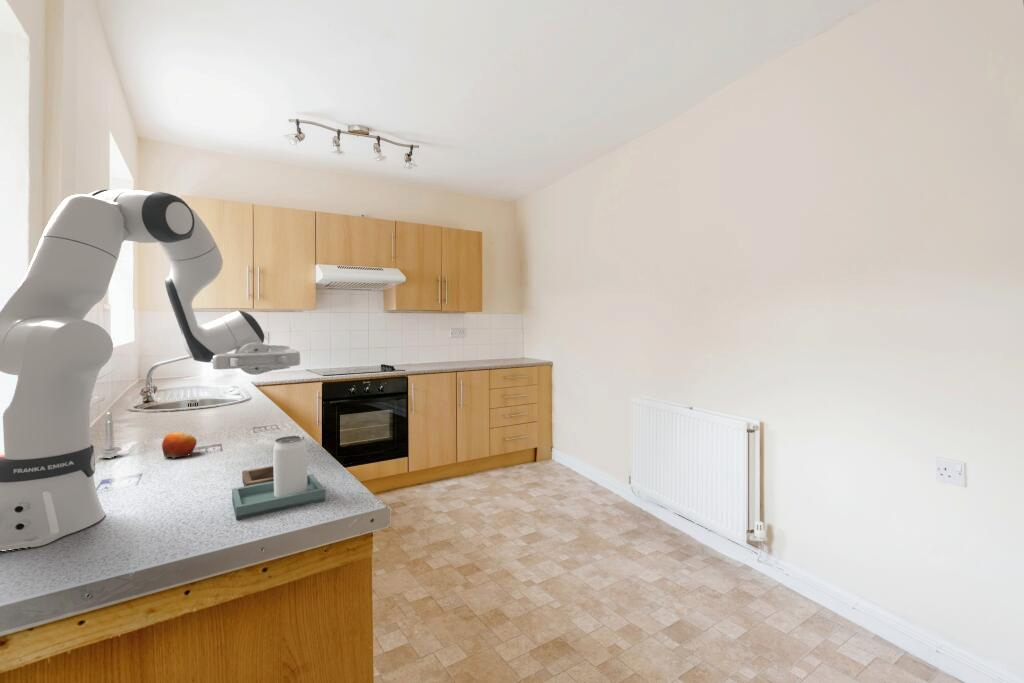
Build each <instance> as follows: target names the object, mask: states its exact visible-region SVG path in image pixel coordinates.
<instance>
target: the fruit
mask: <svg viewBox="0 0 1024 683" xmlns="http://www.w3.org/2000/svg"><path fill="white" fill-rule="evenodd" d="M196 446H197V439H196V437H195V436H193V435H192V434H187V433H184V432H179V431H175V432H171V433H168V434H167V435H165V436H164V438H163V440H162V443H161V449H162V453H163V457H165V458H169V457H171V458H172V460H173V459H174V460H175V459H176V458H178V457H179V458H180V457H186V455H188V454H190V455H191V454H192V453H193V452H194V450H195V448H196ZM188 456H189V455H188Z"/></svg>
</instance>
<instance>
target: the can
mask: <svg viewBox="0 0 1024 683" xmlns="http://www.w3.org/2000/svg"><path fill="white" fill-rule="evenodd" d="M272 448H273V449H272V455H273V456H272V461H273V462H272V464H273V465H272V466H273V473H274V496H275V497H276V498H277V497H281V496H286V495H291V494H296V493H301V492H306V491H307V475H308V452H307V451H308V446H307V442H306V441H305V436H302V435H290V436H282V437H279V438H276V439H275V443H274V446H273V447H272Z"/></svg>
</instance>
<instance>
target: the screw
mask: <svg viewBox="0 0 1024 683" xmlns="http://www.w3.org/2000/svg"><path fill="white" fill-rule="evenodd" d="M112 414H113V413H112V412H110V411H108V412H106V413H105V415H104V416H105V422H104V425H105V426H104V430H105V446H106V447H105V448H103V449H100V450H99V451H98V454H101V455H103V458H104V457H106V458H108V457H114V456H116V455H117V456H118V452H121V451H122V448H121V447H119V446H115V441H114V440H115V437H114V421H113V416H112Z"/></svg>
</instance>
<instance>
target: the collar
mask: <svg viewBox="0 0 1024 683" xmlns="http://www.w3.org/2000/svg"><path fill="white" fill-rule="evenodd" d="M241 472H242V474H241V475H242V477H241V478H242V484H244V485H243V487H245V486H250V485H255V484H261V483H266V482H272V481H274V473H273V465H271V466H270V465H269V466H265V467H259V468H252V469H246V470H242V471H241Z"/></svg>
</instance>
